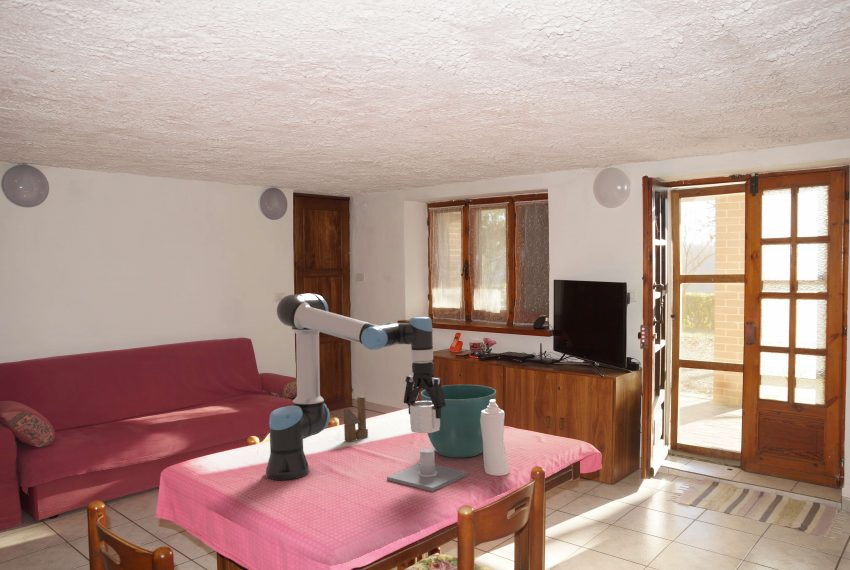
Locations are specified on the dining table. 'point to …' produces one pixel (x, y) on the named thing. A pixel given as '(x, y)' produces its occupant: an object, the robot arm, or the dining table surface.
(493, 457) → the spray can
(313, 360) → the robot arm
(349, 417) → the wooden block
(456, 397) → the flower pot
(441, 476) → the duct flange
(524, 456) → the dining table surface
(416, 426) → the collar
